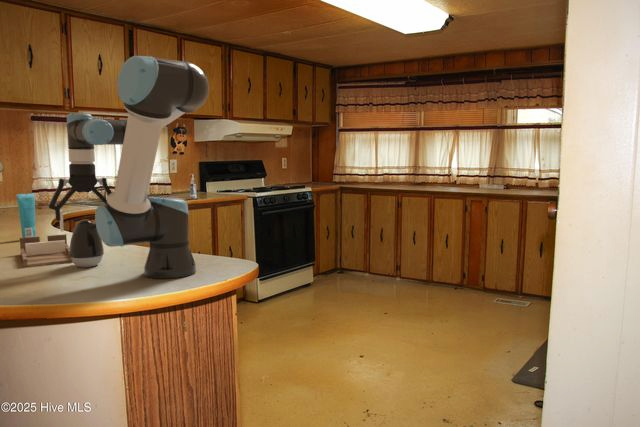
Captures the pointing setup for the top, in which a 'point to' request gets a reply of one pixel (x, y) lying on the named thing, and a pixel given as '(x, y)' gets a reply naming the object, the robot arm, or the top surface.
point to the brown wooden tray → (44, 258)
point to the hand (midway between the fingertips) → (85, 229)
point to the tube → (27, 214)
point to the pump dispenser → (86, 245)
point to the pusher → (45, 247)
